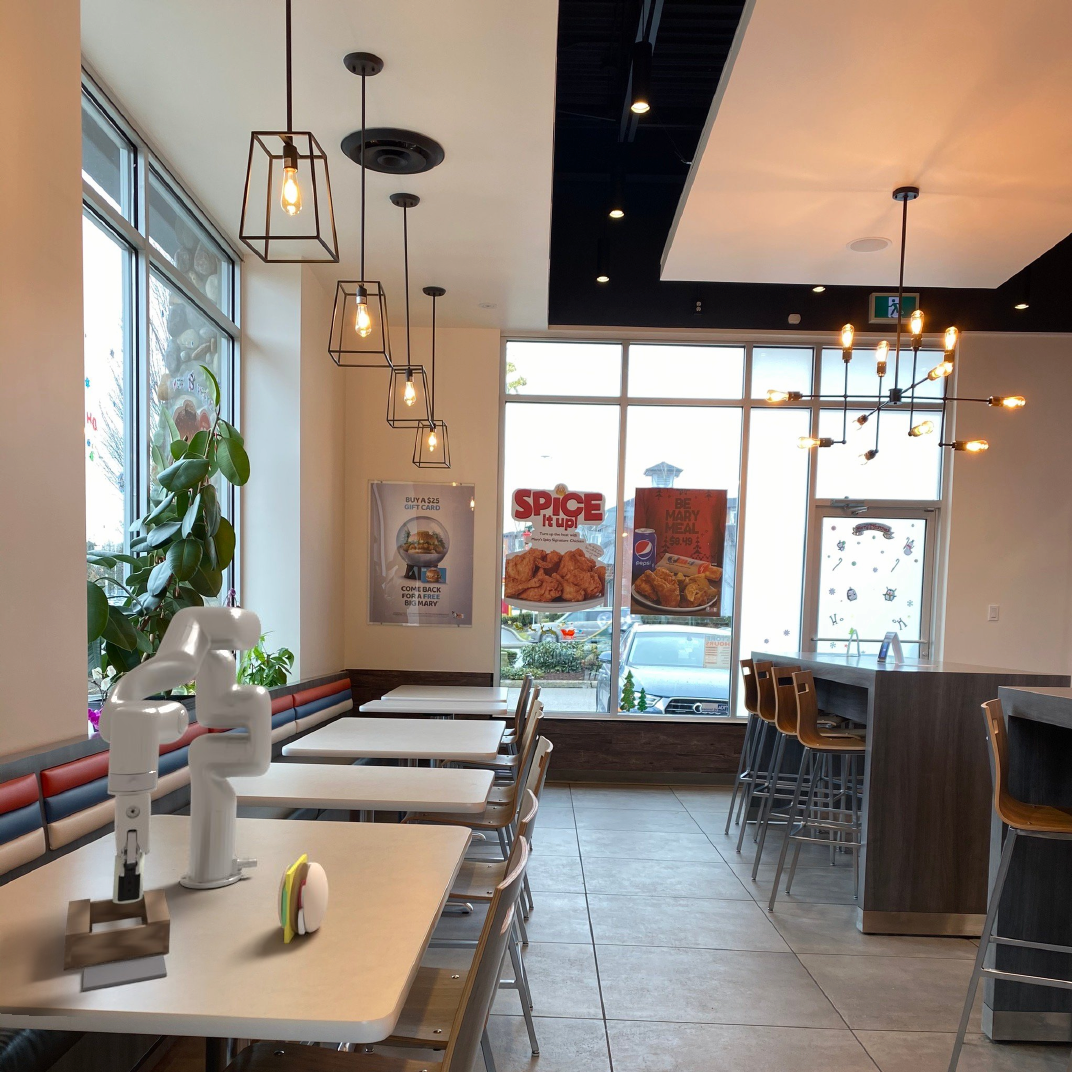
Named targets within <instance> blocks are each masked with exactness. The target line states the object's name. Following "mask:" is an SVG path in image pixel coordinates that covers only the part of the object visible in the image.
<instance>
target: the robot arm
mask: <svg viewBox="0 0 1072 1072" xmlns="http://www.w3.org/2000/svg"><path fill="white" fill-rule="evenodd" d="M261 636H262V624H261V620H260V618H259V616H258V614H256V613H255V611H252V610H249V609H248V610H247V609H244V608H240V607H234V606H189V607H184V608H181V609H180V610H178V611H177V612H176V613H175V614H174V615H173V617H172V619H171V620H170V622H169V624H168V627H167V629H166V632H165V633H164V636H163V638H162V639H161V642H160V644H159V646H158V649H157V650H156V653H155V655H154V656H153V657H151V658H149V659H147V660H145V661H144V662H142V663H140V664H138V665H137V666H136V667H134V668H133V669H131V670H130V671H128V672H127V673H126V674H124V675H123V676H121V678H119V679H118V680H117V681H116V682H115V683H114V685H113V687H112V688H111V691H110V692H109V694H108V696H107V698H106V700H105V702H104V704H103V707H102V709H101V711H100V714H99V719H98V732H99V735H100V737H101V739H102V740H103V741H104V742H106V743H108V744H109V755H108V757H109V758H108V774H107V775H108V776H107V794H108V795H113V796H115V797H114V798H115V799H114V800H115V801H114V802H115V803H114V805H115V806H114V842H115V851H116V855H117V856H118V857H120V858H121V872H120V875H119V877H118V901H119V902H122V901H129V900H136V899H139V897H140V874H141V873H139V864H140V852H142V853H145V856H146V855H148V854H149V853H151V852H150V850H151V849H150V847H151V846H150V845H151V842H150V841H151V816H152V804H151V803H152V801H151V800H152V799H151V796H152V794H151V793H153V792H155V791H157V790H158V782H159V759H160V758H159V757H160V755H159V754H160V745H169V744H173V743H175V742H177V741H178V740H180V739H181V738H182V737H184V735H185V734H186V731H187V730H188V727H189V723H190V721H189V720H190V718H189V712H188V711H187V708H186V706H184V705H183V704H182V703H180V702H178V701H174V700H149V699H148V700H145V699H146V698H149V697H151V696H154V695H156V694H159V693H163V692H167V691H170V690H173V689H177V688H179V687H181V686H184V685H186V684H187V683H190V682H192V681H193V680H194V679H195V681H194V682H195V683H194V684H195V689H194V690H195V692H194V693H195V694H194V695H195V716H196V717H195V718H196V721H197V724H199V726H200V727H203V728H208V729H246V731H247V732H213V733H212V732H211V733H204V734H201V735H199V736H197V737H195V738H194V739H193V740H192V741H191V742H190V744H189V747H188V751H187V762H188V770H189V777H190V820H189V821H190V823H189V842H188V843H189V844H188V845H189V849H188V870H187V872H184V873H183V874H181V876H180V878H179V882H180V885H182V886H183V887H186V888H189V889H203V890H204V889H214V888H221V887H225V886H228V885H231V884H234V883H236V882H238V881H239V880H240V879H241V878H242V876H243V875H242V874H243V873H242V872H243V871H242V870H243V869H246V868H247V869H250V868H257V867H258V859H257V857H252V858H250V857H249V856H246V857H240V858H239V857H238V856H237V854H236V834H237V833H236V830H237V807H238V803H237V801H238V799H237V794H236V791H235V788H234V787H233V785H232V784H231V783H230V781H229V780H228V778H229V779H230V778H256V777H262V776H264V775H265V774H266V773H267V772H268V770H269V769H270V766H271V761H272V699H271V695H270V691H269V690H268V689H267V687H265V686H263V685H261V684H239V683H238V681H237V662H236V658H235V657H234V655H233V653H232V652H231V651H251V650H253V649H255V647H256V646H257V645H258V643H259V641H260V639H261ZM136 851H137V854H136ZM125 852H127V855H124V853H125ZM125 859H127V861H125ZM124 868H125V869H124Z"/></svg>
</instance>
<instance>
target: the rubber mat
mask: <svg viewBox="0 0 1072 1072" xmlns="http://www.w3.org/2000/svg"><path fill="white" fill-rule="evenodd" d="M166 966H167V965H166V960H165V955H164V954H159V955H154V956H148V957H142V958H136V959H130V960H124V961H118V962H112V963H106V964H100V965H94V966H89V967H83V968H84V969H83V982H82V984H83V985H82V986H83V987H82V991H83V992H87V991H91V990H97V989H103V988H110V987H115V986H120V985H125V984H131V983H137V982H142V981H148V980H149V981H150V980H154V979H159V978H163V977H167V976H168V972H167V967H166Z"/></svg>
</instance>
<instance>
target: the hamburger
mask: <svg viewBox="0 0 1072 1072" xmlns="http://www.w3.org/2000/svg"><path fill="white" fill-rule="evenodd" d="M307 862H308V854H302V855H301V856H300V857H299V859H297V861H296V862H295V863H291V864H289V865H287V866H286V868H285V870H284V871H283V873H282V876H281V879H280V882H279V887H278V894H277V915H278V919H279V923H280V926H281V928H282V929H283V930H284V934H283V935H284V937H283V938H284V939H283V940H284V941H283V944H289V943H290V941H291V940H292V939H293V937H294V935H295V934H297V933H298V935H304V934H305V932H306V933H307V932H308V933H313V932H314V931H316V930H317V929H318V928H320V926H321V924H322V922H323V920H324V918H325V916H326V912H327V908H328V903H329V902H328V901H329V882H328V877H327V874H326V872H325V870H324V868H323V867H322V866H321V864H319V863H318V862H308V863H307Z"/></svg>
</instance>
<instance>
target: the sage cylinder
mask: <svg viewBox="0 0 1072 1072" xmlns="http://www.w3.org/2000/svg"><path fill="white" fill-rule="evenodd" d="M136 854H137V851H136ZM124 855H127V852H125V853H124ZM145 856H146V855H145V853H142V852H141V851H140V864H139V873H141V874H140V897H139V899H136V900H129V901H122V902H119V901H118V877H119V875H120V872H121V858H120V857H118V856H117V854H116V855H115V856H114V869H113V870H114V871H113V872H114V874H113V885H112V886H113V888H112V889H113V891H112V899H113V902H114V903H120V904H124V903H132V902H136V901H138V900H140V899H142V895H143V894H144V890H143V889H144V876H145V875H144V874H145V858H146V857H145ZM125 861H127V859H125ZM124 869H125V868H124Z"/></svg>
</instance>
